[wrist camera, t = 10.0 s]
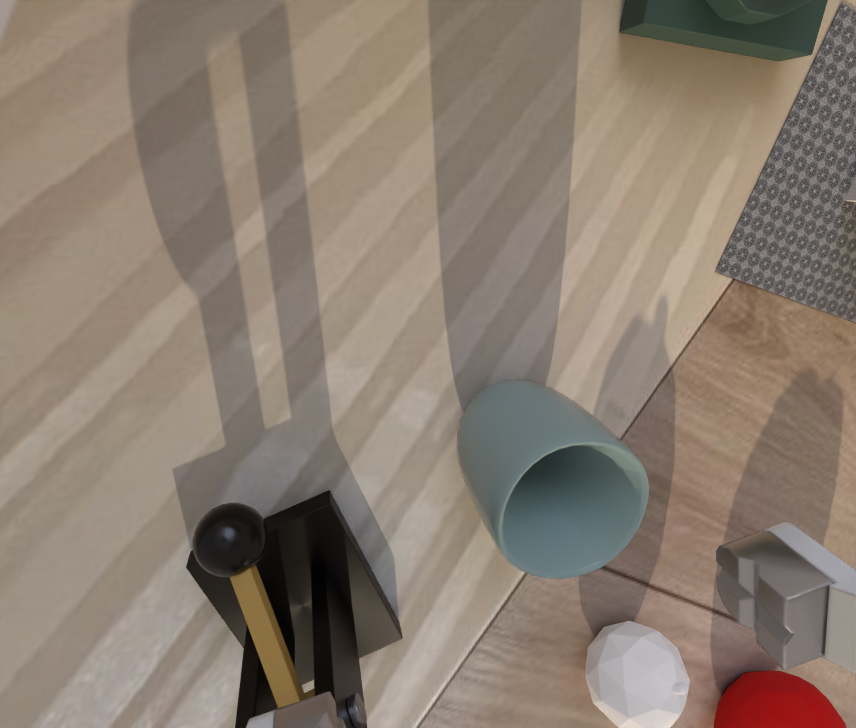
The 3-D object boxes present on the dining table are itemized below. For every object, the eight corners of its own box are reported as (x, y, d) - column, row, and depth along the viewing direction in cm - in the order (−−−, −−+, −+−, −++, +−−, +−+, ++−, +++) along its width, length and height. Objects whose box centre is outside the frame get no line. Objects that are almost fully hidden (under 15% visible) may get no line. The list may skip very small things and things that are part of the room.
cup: (577, 376, 35) (676, 453, 26) (535, 482, 37) (613, 588, 28) (465, 350, 33) (530, 424, 24) (427, 464, 35) (473, 573, 26)
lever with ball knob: (199, 515, 30) (169, 525, 27) (261, 488, 30) (240, 494, 27) (288, 759, 29) (269, 804, 25) (353, 728, 29) (344, 768, 25)
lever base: (190, 550, 34) (139, 737, 23) (329, 489, 34) (343, 643, 23) (278, 677, 38) (270, 881, 27) (399, 621, 39) (438, 800, 28)
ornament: (550, 641, 43) (631, 663, 36) (614, 600, 46) (699, 613, 40) (580, 735, 42) (669, 776, 35) (643, 686, 46) (734, 715, 39)
